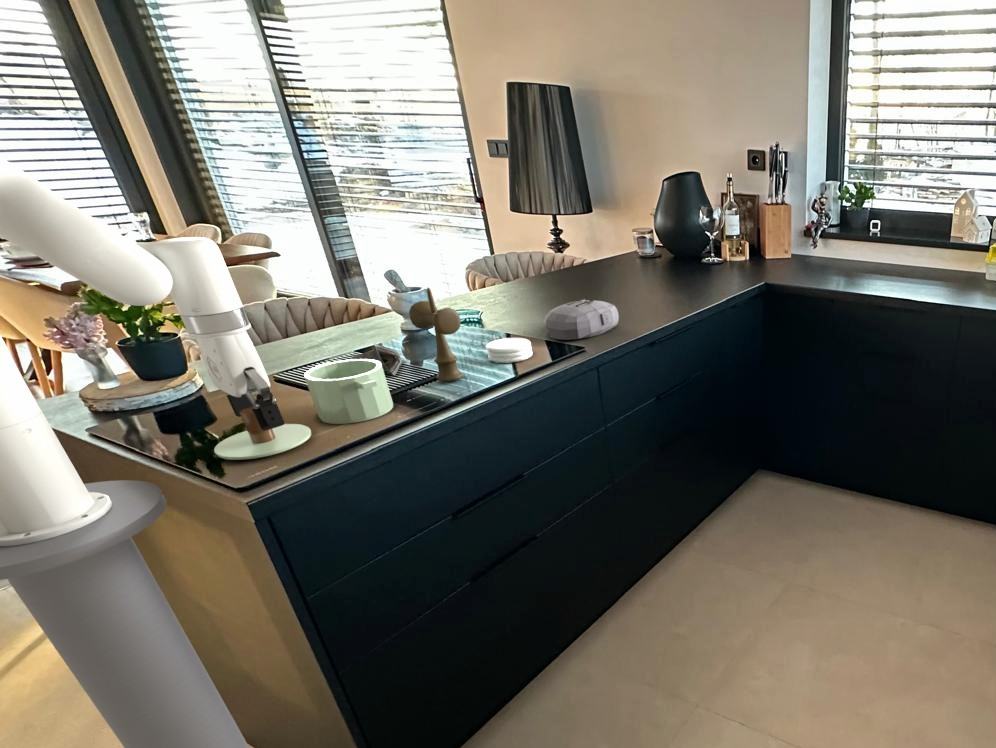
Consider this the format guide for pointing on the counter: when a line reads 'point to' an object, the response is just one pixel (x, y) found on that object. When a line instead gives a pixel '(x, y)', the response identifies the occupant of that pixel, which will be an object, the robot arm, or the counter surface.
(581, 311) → the grey rounded bag
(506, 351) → the coaster
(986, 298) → the counter surface
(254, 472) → the counter surface
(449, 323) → the kendama
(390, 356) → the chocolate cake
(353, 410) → the pot
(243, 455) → the lid
